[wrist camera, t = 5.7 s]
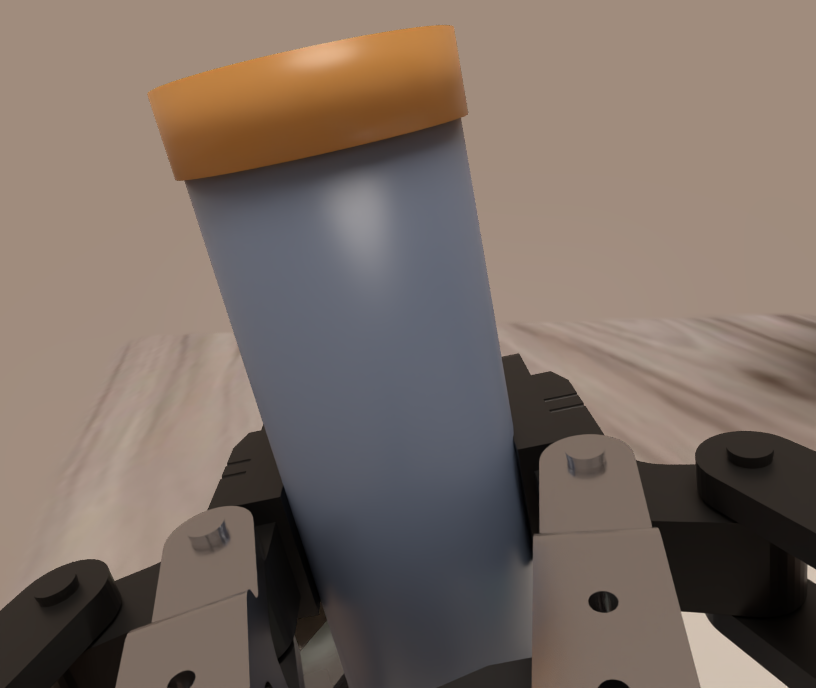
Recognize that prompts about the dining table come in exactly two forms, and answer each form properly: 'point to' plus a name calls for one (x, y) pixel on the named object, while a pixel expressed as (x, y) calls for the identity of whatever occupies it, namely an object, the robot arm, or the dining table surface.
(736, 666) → the clipboard
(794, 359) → the dining table surface
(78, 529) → the dining table surface
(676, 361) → the dining table surface
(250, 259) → the cylinder
